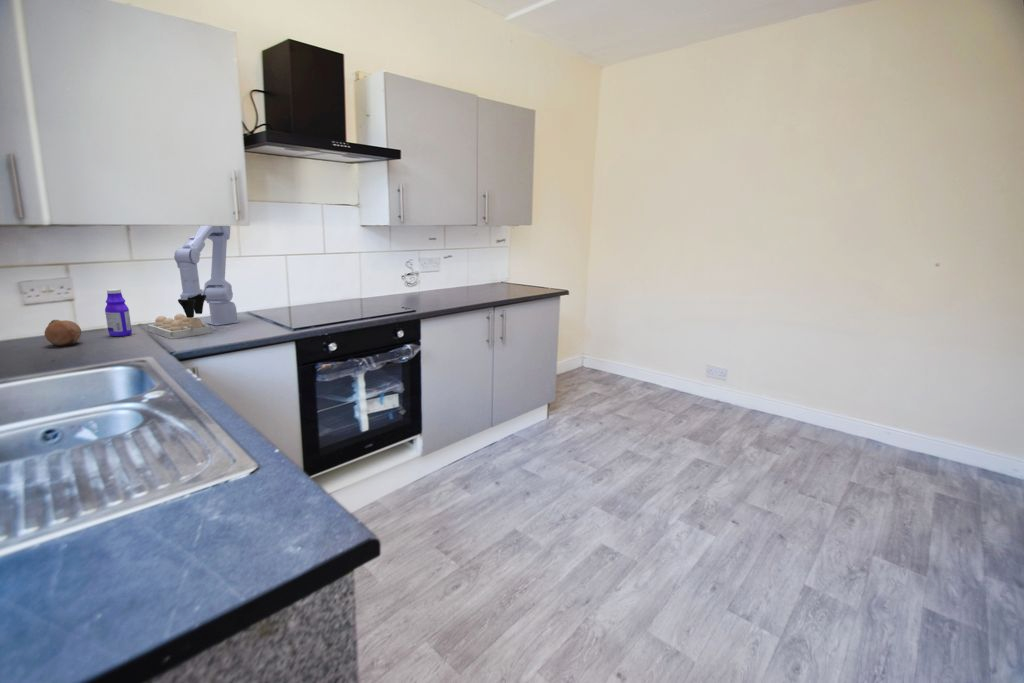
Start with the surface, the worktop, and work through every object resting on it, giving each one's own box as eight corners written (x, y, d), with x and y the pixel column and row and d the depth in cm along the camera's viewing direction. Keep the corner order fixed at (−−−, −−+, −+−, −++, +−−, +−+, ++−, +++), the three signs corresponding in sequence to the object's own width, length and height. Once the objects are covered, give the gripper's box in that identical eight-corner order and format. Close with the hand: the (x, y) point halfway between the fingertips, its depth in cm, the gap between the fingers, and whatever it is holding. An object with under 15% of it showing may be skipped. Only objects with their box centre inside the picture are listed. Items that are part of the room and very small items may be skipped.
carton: (187, 325, 208) (185, 311, 206) (211, 332, 196) (209, 317, 195) (148, 331, 197) (145, 316, 195) (171, 339, 185) (169, 323, 184)
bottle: (136, 334, 192) (129, 288, 188) (123, 337, 186) (115, 290, 182) (118, 333, 192) (111, 288, 188) (105, 336, 187) (97, 290, 183)
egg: (199, 328, 198) (198, 316, 197) (204, 330, 196) (202, 317, 194) (188, 330, 195) (186, 317, 193) (193, 332, 192) (191, 319, 191)
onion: (53, 354, 173) (33, 329, 170) (82, 341, 181) (63, 317, 178) (62, 348, 168) (41, 322, 165) (92, 335, 175) (72, 310, 173)
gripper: (193, 282, 184) (198, 319, 188) (209, 278, 198) (213, 312, 201) (172, 282, 183) (177, 319, 186) (189, 278, 197) (194, 312, 200)
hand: (194, 315), depth 194 cm, fingers open, 7 cm apart
